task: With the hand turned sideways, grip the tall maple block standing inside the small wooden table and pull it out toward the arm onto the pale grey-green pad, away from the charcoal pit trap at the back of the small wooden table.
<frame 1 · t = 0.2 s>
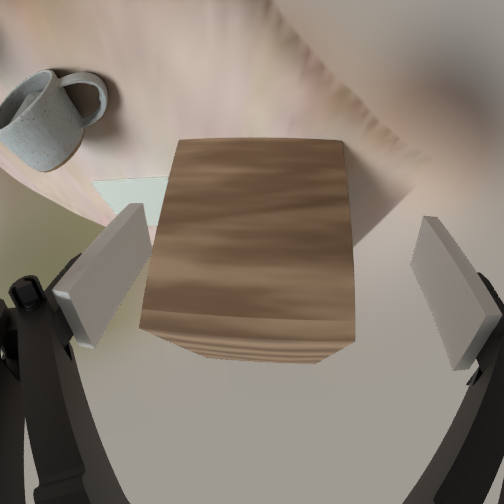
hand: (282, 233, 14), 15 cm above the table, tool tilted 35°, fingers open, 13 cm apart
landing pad: (143, 203, 42), on the table
ceramic mug: (65, 91, 24), on the table
small wooden table: (264, 205, 41), on the table
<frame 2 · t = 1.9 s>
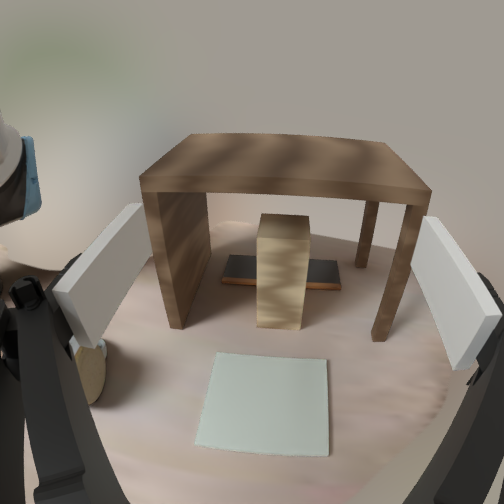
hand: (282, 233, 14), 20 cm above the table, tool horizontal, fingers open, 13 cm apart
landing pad: (266, 402, 28), on the table
maple block: (279, 313, 38), on the table
ceramic mug: (78, 377, 29), on the table
small wooden table: (281, 292, 42), on the table
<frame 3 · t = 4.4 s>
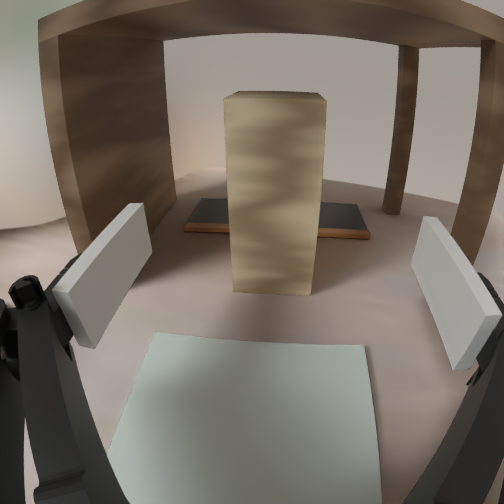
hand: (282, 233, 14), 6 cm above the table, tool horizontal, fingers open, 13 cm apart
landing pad: (245, 436, 12), on the table
maple block: (273, 271, 23), on the table
small wooden table: (276, 241, 26), on the table
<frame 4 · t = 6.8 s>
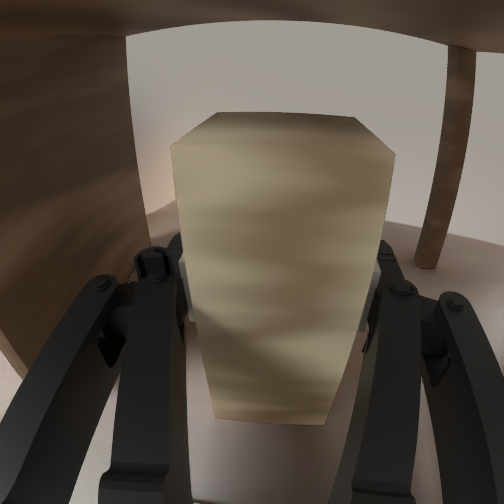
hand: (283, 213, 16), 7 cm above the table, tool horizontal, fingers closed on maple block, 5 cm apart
maple block: (273, 380, 15), on the table, touching gripper
small wooden table: (278, 324, 18), on the table
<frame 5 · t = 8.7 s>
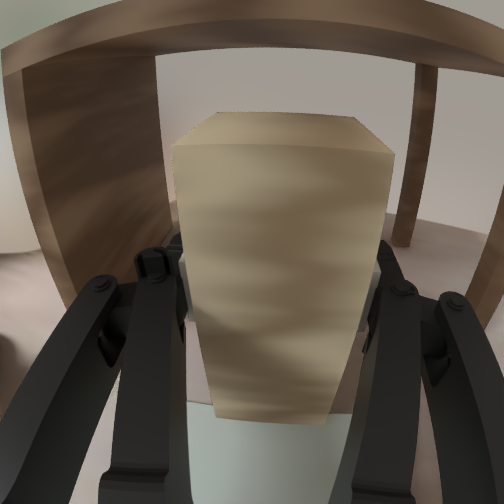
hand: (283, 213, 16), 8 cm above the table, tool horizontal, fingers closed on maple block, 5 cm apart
maple block: (273, 380, 15), point 2 cm above the table, touching gripper
small wooden table: (277, 283, 24), on the table
when the fingers open (7 cm above the table, at t = 10.6 s): maple block stays where it is, resting on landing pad.
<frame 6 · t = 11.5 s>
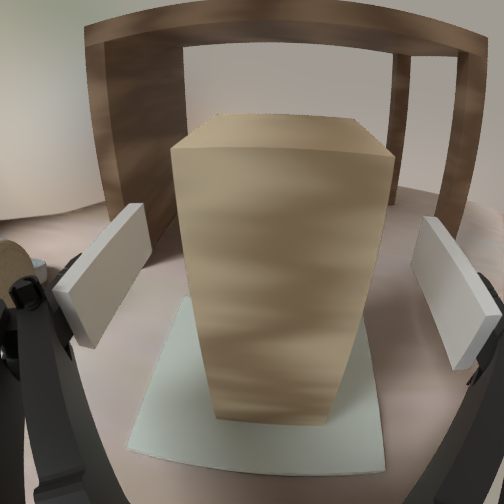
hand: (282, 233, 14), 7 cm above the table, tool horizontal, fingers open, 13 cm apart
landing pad: (264, 376, 16), on the table
maple block: (273, 381, 15), resting on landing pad
ceramic mug: (7, 310, 20), on the table
small wooden table: (284, 225, 30), on the table
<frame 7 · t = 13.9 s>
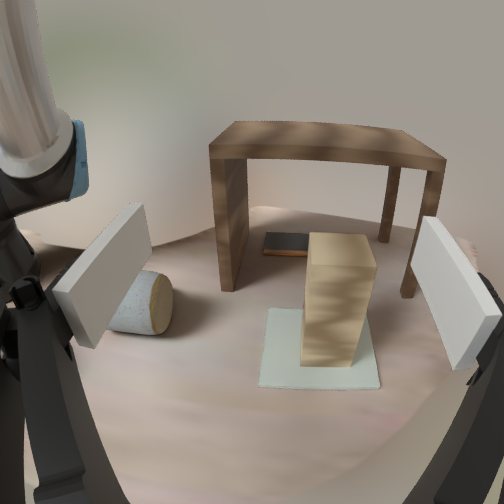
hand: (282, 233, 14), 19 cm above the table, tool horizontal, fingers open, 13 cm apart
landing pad: (319, 347, 32), on the table
maple block: (324, 348, 31), resting on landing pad
ceramic mug: (143, 317, 37), on the table
small wooden table: (317, 260, 46), on the table
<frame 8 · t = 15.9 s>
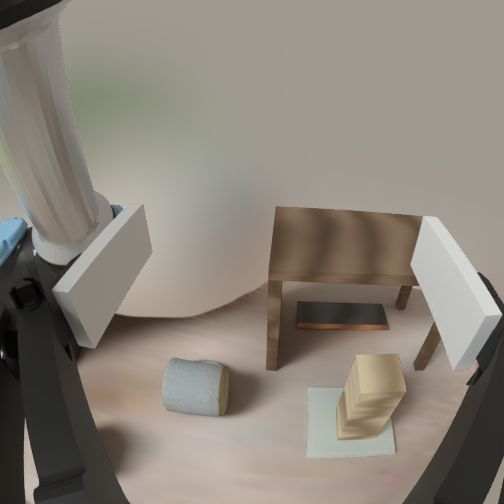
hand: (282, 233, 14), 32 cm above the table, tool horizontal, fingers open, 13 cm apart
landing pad: (350, 421, 37), on the table
maple block: (354, 423, 36), resting on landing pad
ceramic mug: (200, 394, 42), on the table
small wooden table: (345, 334, 50), on the table
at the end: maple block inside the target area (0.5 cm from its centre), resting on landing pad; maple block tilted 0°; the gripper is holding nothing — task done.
